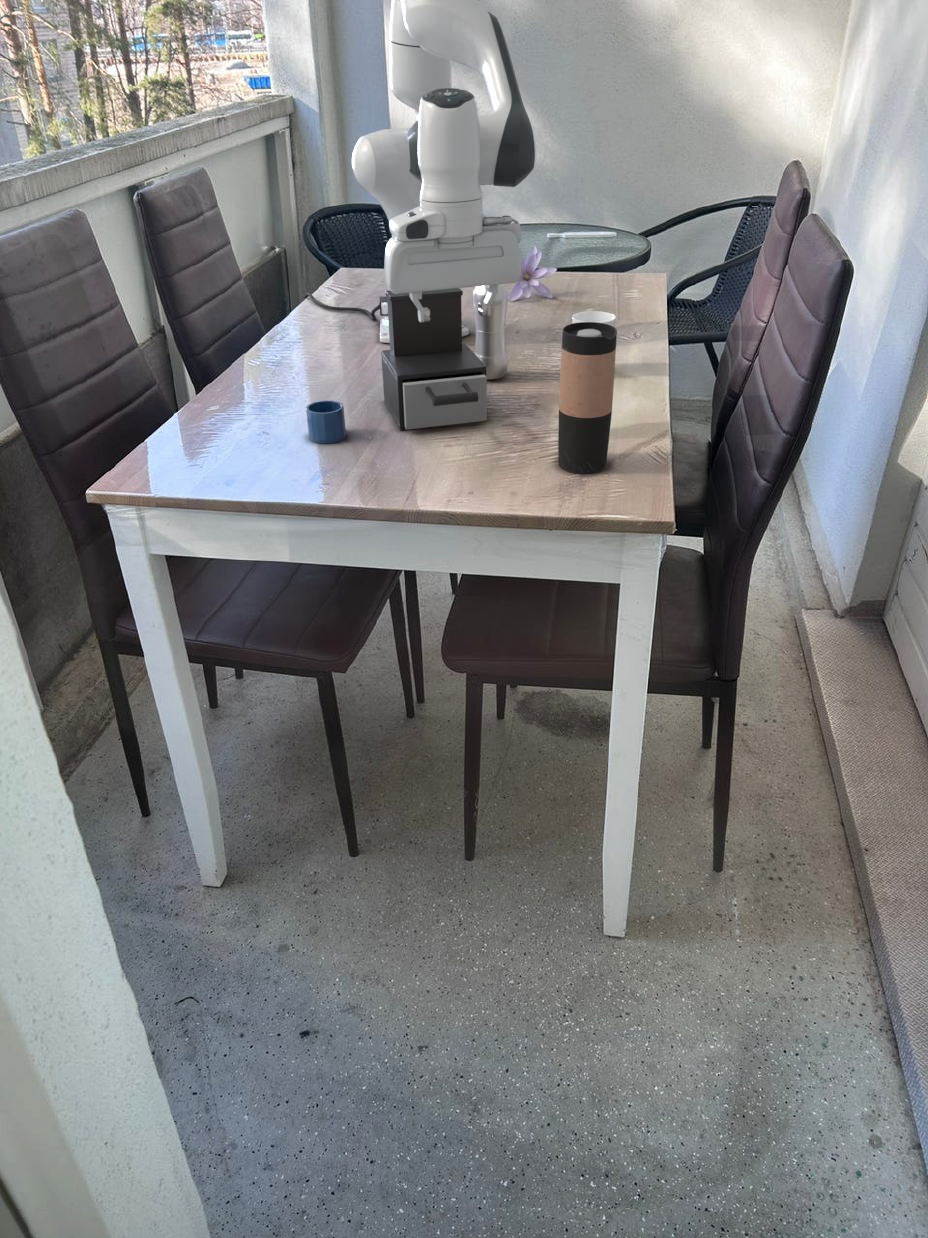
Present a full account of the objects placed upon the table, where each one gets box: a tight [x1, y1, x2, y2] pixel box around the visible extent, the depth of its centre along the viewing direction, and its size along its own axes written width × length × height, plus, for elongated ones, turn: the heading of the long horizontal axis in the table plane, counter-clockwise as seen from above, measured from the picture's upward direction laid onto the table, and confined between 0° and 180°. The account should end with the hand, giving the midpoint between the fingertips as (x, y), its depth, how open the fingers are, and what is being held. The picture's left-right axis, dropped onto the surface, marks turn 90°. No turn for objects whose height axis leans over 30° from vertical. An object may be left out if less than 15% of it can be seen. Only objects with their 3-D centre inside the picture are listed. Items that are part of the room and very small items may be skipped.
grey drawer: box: [402, 372, 488, 431], centre depth 154 cm, size 19×13×7 cm
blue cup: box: [305, 400, 347, 445], centre depth 151 cm, size 6×6×5 cm
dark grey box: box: [380, 342, 486, 431], centre depth 159 cm, size 14×15×9 cm
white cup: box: [571, 310, 617, 328], centre depth 175 cm, size 8×8×10 cm
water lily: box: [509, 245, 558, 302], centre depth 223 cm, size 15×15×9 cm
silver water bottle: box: [471, 284, 509, 380], centre depth 170 cm, size 6×7×20 cm
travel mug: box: [557, 322, 618, 475], centre depth 136 cm, size 8×8×20 cm
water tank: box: [384, 288, 464, 356], centre depth 157 cm, size 4×12×10 cm, turn 105°
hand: (454, 318), depth 143 cm, fingers open, 8 cm apart
